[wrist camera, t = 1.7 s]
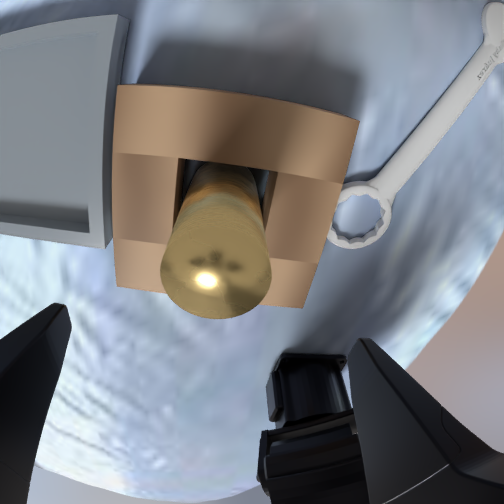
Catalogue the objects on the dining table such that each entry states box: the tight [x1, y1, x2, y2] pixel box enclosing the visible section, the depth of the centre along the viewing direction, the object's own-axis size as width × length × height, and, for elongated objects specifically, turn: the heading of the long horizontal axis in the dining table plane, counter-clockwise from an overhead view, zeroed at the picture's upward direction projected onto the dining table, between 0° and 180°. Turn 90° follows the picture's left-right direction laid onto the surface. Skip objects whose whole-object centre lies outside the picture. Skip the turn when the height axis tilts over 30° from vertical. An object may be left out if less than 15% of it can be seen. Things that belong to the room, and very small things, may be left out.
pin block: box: [112, 84, 360, 308], centre depth 17 cm, size 12×12×3 cm
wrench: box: [327, 2, 504, 249], centre depth 16 cm, size 25×2×5 cm
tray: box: [0, 14, 130, 249], centre depth 15 cm, size 14×14×2 cm
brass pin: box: [160, 162, 272, 319], centre depth 15 cm, size 4×4×9 cm
